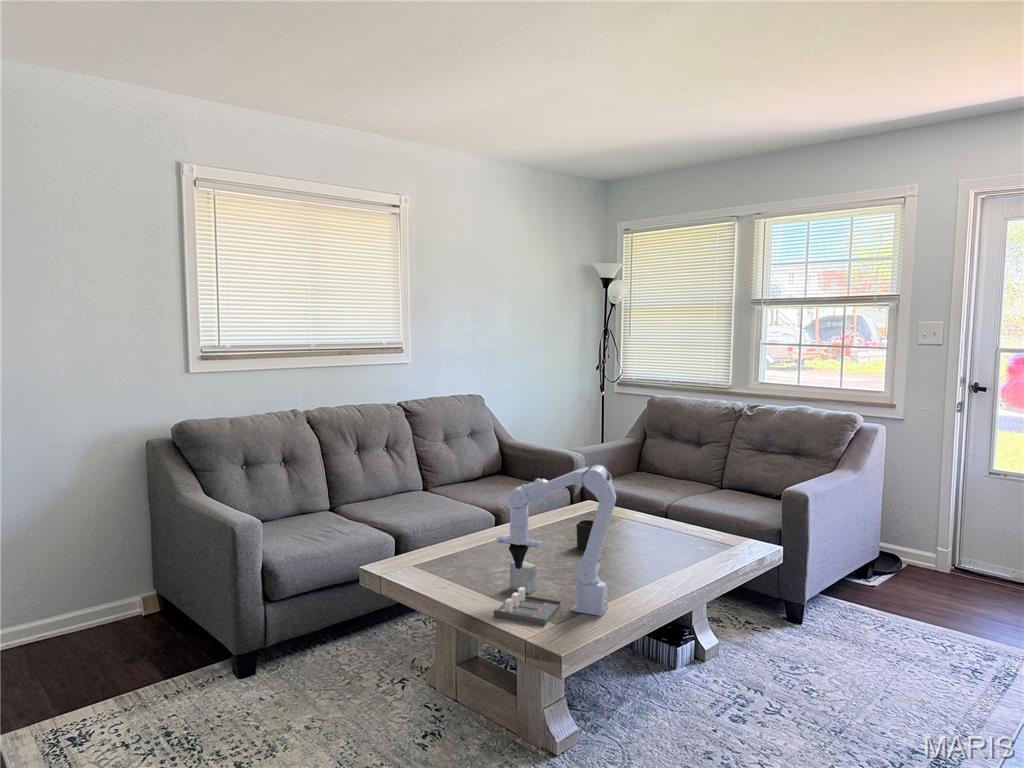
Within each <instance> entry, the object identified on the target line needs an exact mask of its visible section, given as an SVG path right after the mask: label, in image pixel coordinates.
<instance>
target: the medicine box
mask: <svg viewBox="0 0 1024 768" xmlns="http://www.w3.org/2000/svg"><path fill="white" fill-rule="evenodd" d="M520 587H525V594H526V595H527V594H531V593H533V592H535V591H536V590H537V565H536V564H533V563H530V562H528V561H524V560H523V564H522V568H520V569H516V567H515V563H514V561H512V562H510V563H509V588H510V589H512V590H517V591H518V589H519V588H520Z"/></svg>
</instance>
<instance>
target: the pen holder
mask: <svg viewBox="0 0 1024 768" xmlns="http://www.w3.org/2000/svg"><path fill="white" fill-rule="evenodd" d="M593 522H594V519H593V520H592V519H591V520H590V519H584V520H581V521H579V522H578V523H576V547H577V549H578V550H579V549H580V550H579V551H581V550H583V552H585V550H586V547H587V543H588V540H589V536H590V533H591V529H592V526H593Z"/></svg>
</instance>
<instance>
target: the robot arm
mask: <svg viewBox="0 0 1024 768" xmlns="http://www.w3.org/2000/svg"><path fill="white" fill-rule="evenodd" d="M612 479H613V478H612V474H611V473H610V472H609V470H608V469H607V468H606V467H605V466H604V465H602V464H595V465H592V466H586V467H582V468H579V469H576V470H573V471H571V472H568V473H566V474H563V475H561V476H558V477H556V478H553V479H551V480H547V479H545V478H539V477H538V478H536V479H534V481H532V482H530V483H528V484H526V483H524V484H523V483H522V484H521V485H520V486H517V487H516V488H514V489H513V490H512V491H510V493H509V494H508V497H507V501H508V503H509V505H510V511H509V535H498V536H496V544H507V545H509V547H508V550H509V553H510V554H511V556H512V559H513V562H514V563H515V567H516V569H520V568H522V564H523V561H524V559H525V557H526V553H528V550H529V548H535V549H536V550H540V549H542V547H543V541H542V540H537V539H533V538H529V503H530V504H531V503H534V502H537V501H541V500H543V499H546V498H548V497H550V496H551V494H552V492H553V491H556V490H560V489H563V488H566V487H569V486H572V485H576V486H578V487H580V488H582V487H585V488H586V489H587V490H588V491H589V492H590V493H591V494H593V495H594V496H595V498H596V499H597V501H598V505H597V508H596V513H595V515H594V519H593V521H594V522H593V526H592V529H591V533H590V536H589V540H588V543H587V547H586V550H585V551H584V552H583V553H584V554H583V556H582V558H581V560H580V562H579V564H578V566H577V567H576V568H575V571H574V573H575V574H574V575H575V583H576V584H575V604H574V606H573V607H572V608H571V612H575V613H580V614H581V613H582V614H587V615H588V614H589V615H594V616H600V617H602V616H603V615H604V613H605V612H606V610H607V609H608V607H609V605H608V598H609V597H608V593H609V591H608V590H609V589H608V588H609V587H608V583H606V582H603V581H601V578H600V577H599V574H598V573H599V572H600V570H601V556H602V550H603V547H604V543H605V539H606V536H607V533H608V529H609V526H610V521H611V518H612V516H613V513H614V508H615V505H616V501H617V494H616V490H615V487H614V483H613V481H612Z"/></svg>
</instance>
